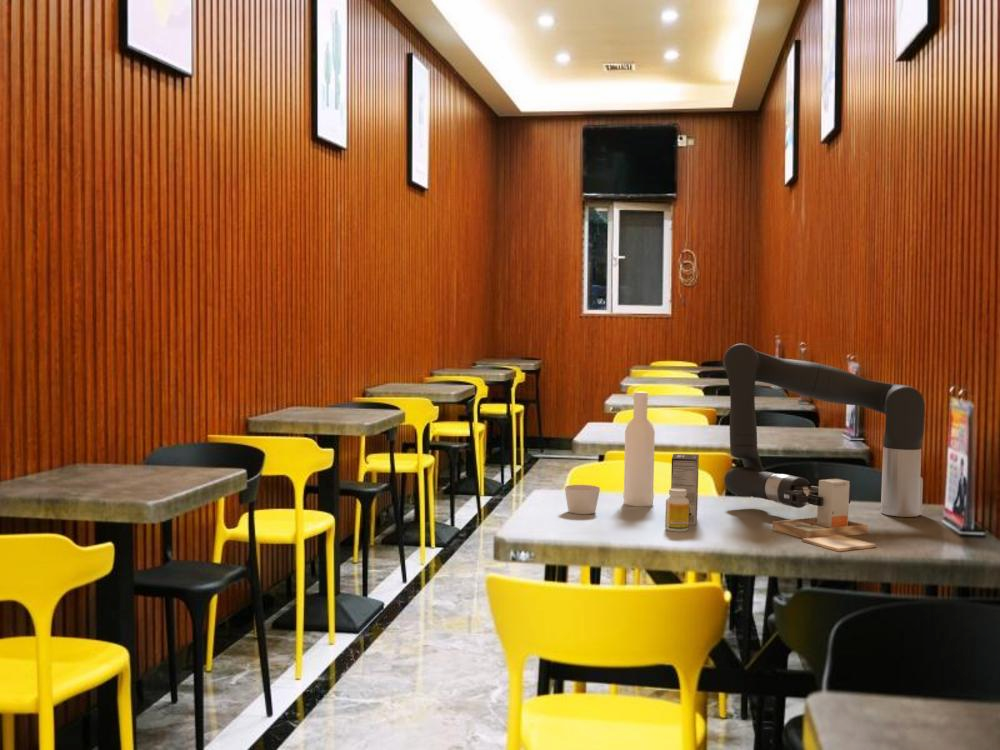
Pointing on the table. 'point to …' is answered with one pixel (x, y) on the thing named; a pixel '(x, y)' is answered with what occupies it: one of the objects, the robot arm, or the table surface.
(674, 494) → the supplement bottle
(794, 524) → the light wood flat frame
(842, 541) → the coaster
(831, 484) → the skincare box
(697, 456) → the coffee box
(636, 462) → the bottle
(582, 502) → the beige cup
